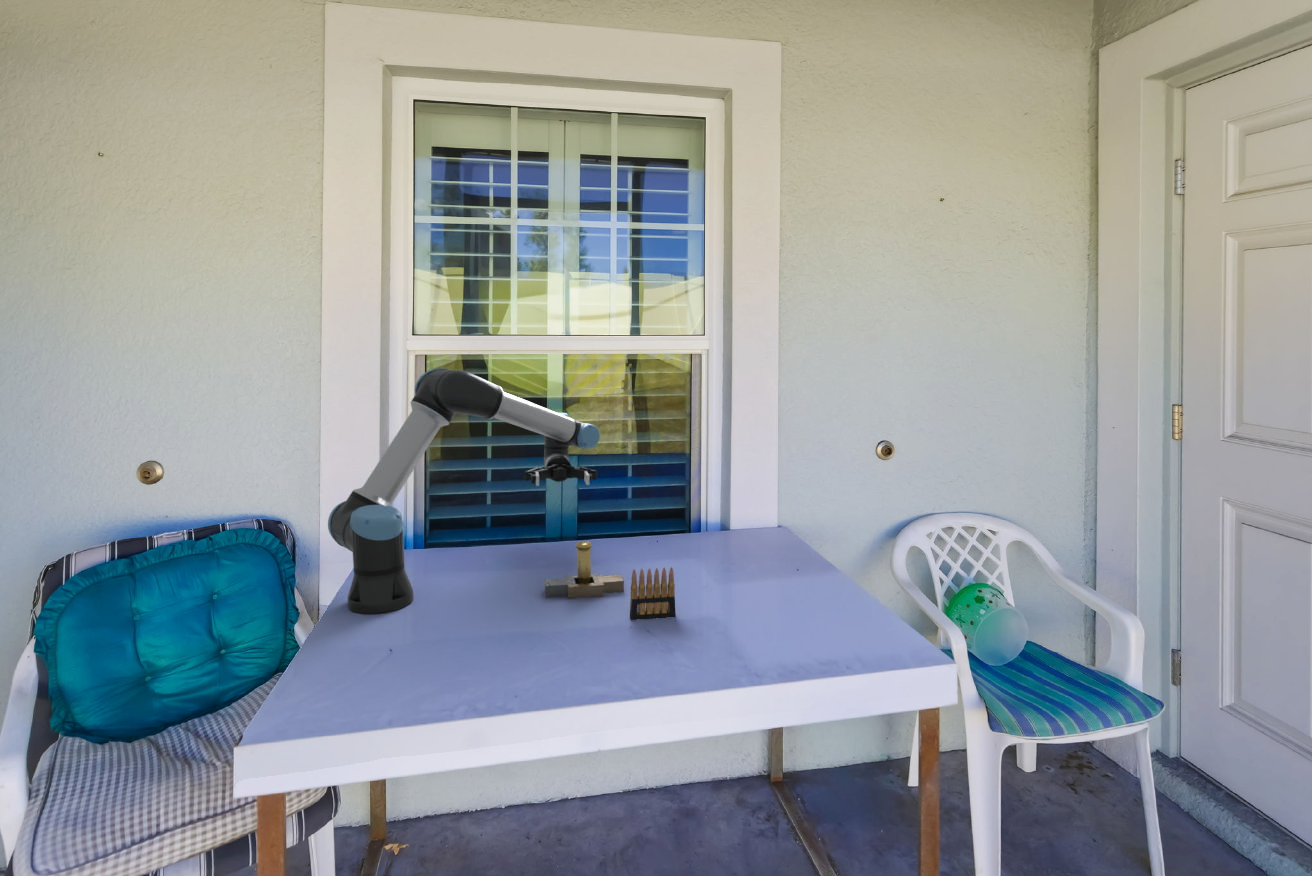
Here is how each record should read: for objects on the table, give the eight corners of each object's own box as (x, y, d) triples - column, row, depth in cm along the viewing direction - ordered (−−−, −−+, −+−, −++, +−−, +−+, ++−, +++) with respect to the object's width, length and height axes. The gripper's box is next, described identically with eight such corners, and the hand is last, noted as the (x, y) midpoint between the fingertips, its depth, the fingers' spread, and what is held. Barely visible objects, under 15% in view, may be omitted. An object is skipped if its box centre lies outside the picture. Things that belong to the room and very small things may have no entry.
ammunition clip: (674, 614, 166) (674, 565, 164) (675, 617, 164) (676, 568, 162) (629, 617, 164) (629, 568, 162) (630, 620, 162) (630, 570, 161)
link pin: (577, 594, 178) (576, 546, 176) (575, 589, 182) (574, 541, 180) (593, 593, 179) (592, 545, 177) (591, 588, 183) (591, 540, 181)
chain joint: (546, 600, 174) (545, 588, 174) (544, 588, 183) (544, 577, 182) (625, 594, 178) (625, 583, 178) (619, 583, 187) (619, 572, 187)
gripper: (599, 479, 213) (608, 493, 193) (516, 480, 208) (516, 495, 188) (599, 454, 212) (608, 466, 192) (516, 455, 207) (516, 467, 187)
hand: (563, 480), depth 190 cm, fingers open, 13 cm apart
